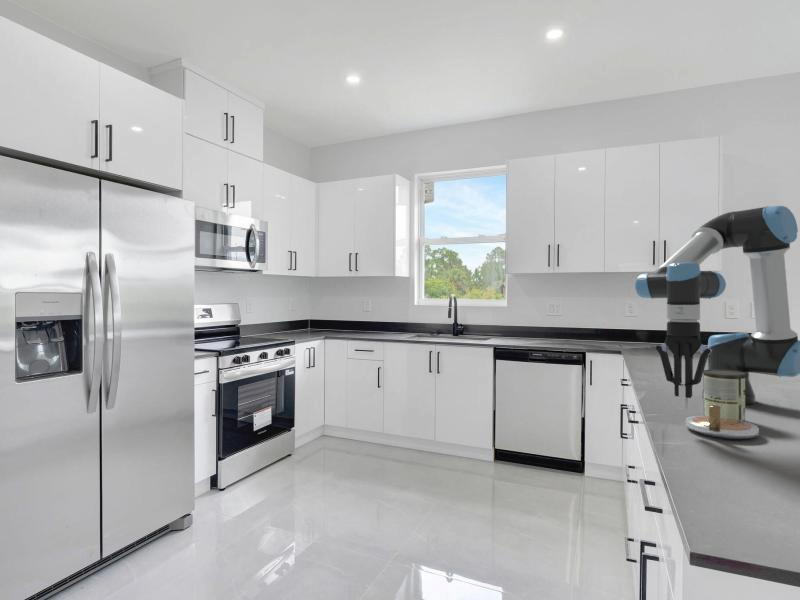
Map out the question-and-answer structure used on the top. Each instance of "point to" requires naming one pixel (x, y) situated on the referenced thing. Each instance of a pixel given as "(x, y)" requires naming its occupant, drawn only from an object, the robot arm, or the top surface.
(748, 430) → the turntable
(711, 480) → the top surface
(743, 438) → the turntable base
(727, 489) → the top surface
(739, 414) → the coffee can
